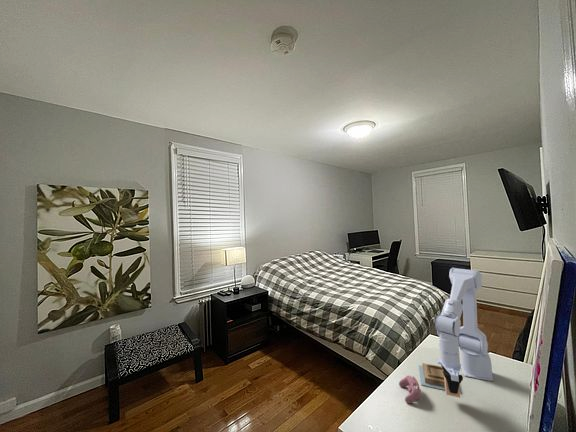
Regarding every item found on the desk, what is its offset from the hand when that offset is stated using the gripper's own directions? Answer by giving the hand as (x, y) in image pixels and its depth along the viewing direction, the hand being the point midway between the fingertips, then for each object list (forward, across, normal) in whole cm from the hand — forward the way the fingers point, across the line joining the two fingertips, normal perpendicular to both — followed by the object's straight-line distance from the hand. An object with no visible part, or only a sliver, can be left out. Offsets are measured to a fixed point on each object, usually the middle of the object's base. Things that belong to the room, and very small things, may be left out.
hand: (452, 388), depth 85 cm
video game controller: (+5, +1, -14) cm, 15 cm away
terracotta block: (+2, 0, 0) cm, 2 cm away
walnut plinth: (+5, -12, -3) cm, 13 cm away
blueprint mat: (+5, -12, -3) cm, 13 cm away
